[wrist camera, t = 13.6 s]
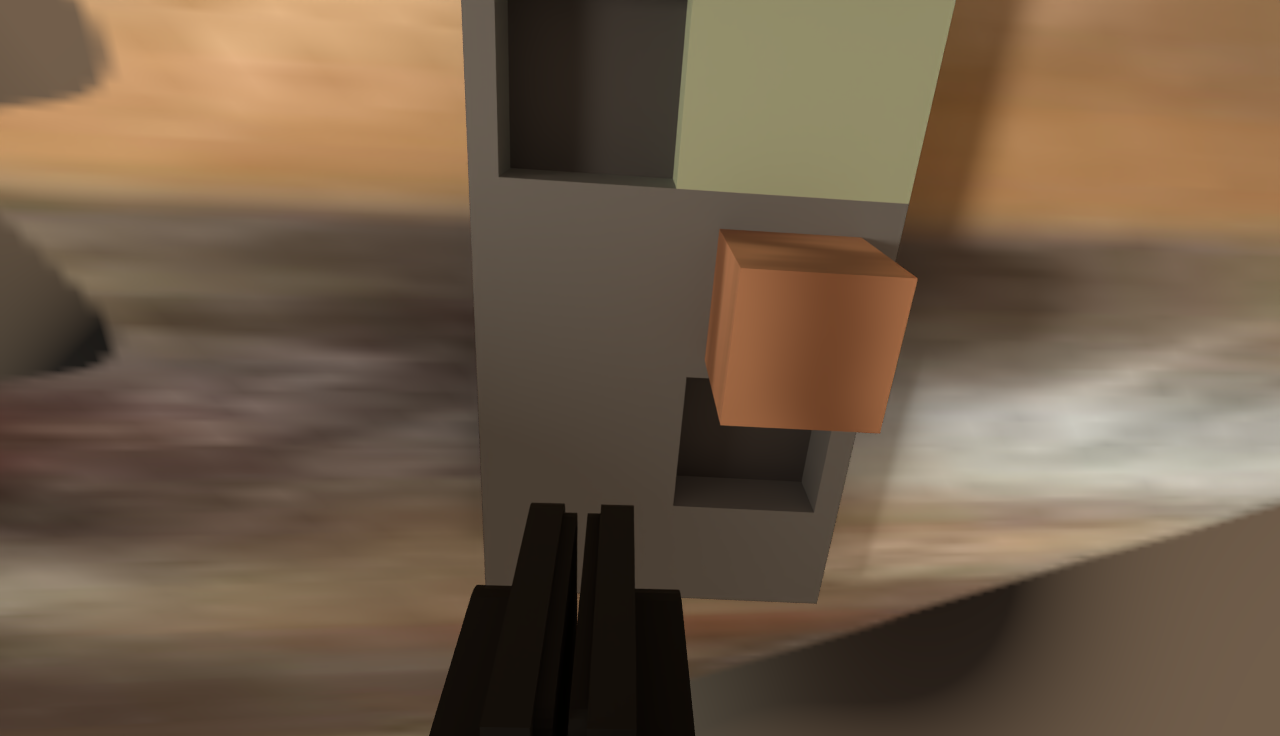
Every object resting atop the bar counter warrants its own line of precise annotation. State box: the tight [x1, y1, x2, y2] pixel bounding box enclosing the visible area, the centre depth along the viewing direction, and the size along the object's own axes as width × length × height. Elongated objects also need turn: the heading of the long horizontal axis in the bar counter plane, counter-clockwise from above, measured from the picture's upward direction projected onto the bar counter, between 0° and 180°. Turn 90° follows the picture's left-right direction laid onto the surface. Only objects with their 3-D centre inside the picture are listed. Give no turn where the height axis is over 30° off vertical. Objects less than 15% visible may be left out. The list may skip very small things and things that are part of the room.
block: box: [705, 229, 918, 433], centre depth 22 cm, size 5×5×5 cm
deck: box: [461, 0, 956, 604], centre depth 24 cm, size 15×27×4 cm, turn 176°
